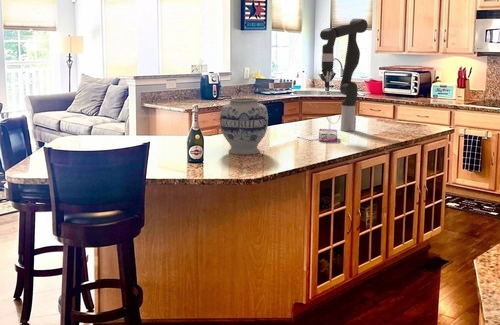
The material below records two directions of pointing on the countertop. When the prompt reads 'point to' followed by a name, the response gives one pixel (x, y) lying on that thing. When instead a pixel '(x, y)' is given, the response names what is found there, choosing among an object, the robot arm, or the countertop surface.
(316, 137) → the white mat
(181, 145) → the countertop surface
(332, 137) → the candy bar box
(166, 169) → the countertop surface
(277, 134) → the countertop surface
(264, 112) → the apothecary jar
